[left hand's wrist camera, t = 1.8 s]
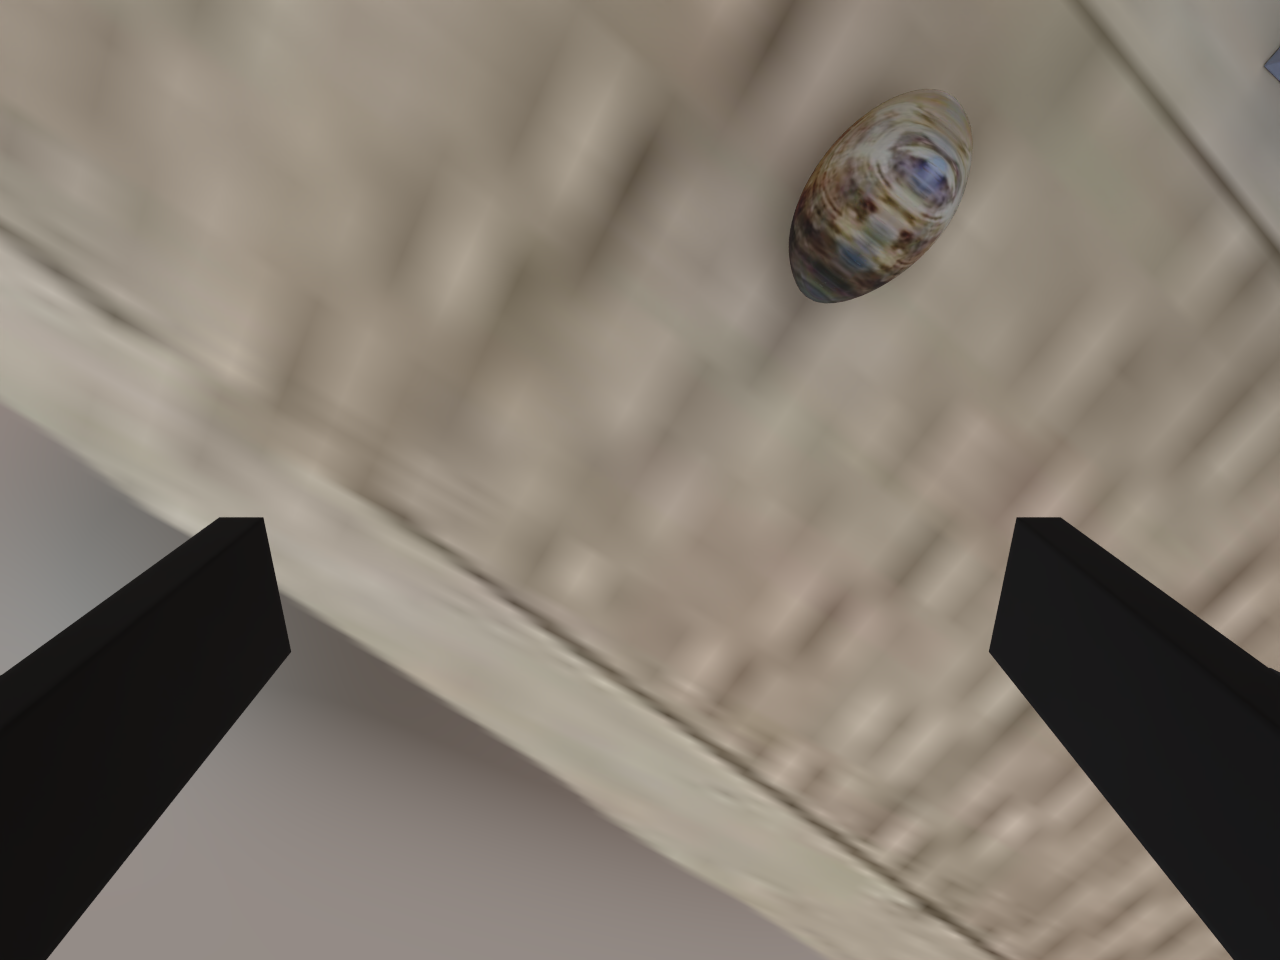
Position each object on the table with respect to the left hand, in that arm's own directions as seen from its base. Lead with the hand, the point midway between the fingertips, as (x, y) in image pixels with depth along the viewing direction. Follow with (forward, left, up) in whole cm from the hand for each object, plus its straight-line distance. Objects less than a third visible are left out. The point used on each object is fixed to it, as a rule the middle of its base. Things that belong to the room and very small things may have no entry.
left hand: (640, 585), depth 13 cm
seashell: (-10, +7, -25) cm, 27 cm away
